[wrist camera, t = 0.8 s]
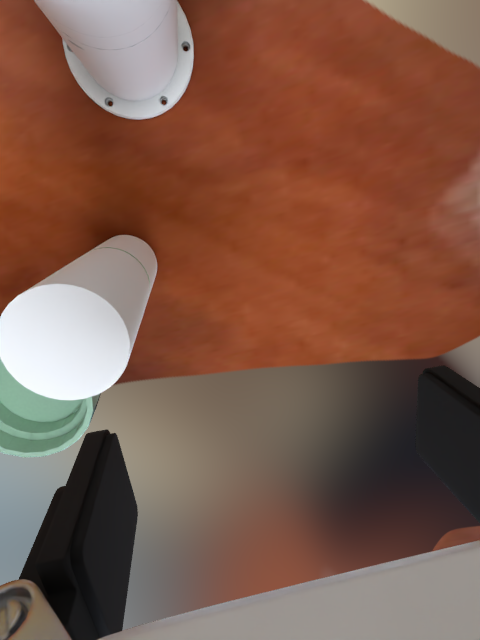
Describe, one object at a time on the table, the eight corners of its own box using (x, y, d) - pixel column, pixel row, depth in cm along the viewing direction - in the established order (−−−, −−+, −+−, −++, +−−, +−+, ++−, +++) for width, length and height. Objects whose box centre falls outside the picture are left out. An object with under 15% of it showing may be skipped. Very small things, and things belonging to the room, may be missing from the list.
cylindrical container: (84, 273, 44) (-27, 365, 21) (114, 222, 43) (32, 258, 19) (138, 304, 46) (93, 419, 23) (168, 256, 45) (153, 325, 21)
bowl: (-46, 372, 45) (-75, 395, 40) (47, 307, 45) (30, 322, 39) (39, 448, 50) (23, 477, 45) (124, 391, 50) (118, 413, 44)
